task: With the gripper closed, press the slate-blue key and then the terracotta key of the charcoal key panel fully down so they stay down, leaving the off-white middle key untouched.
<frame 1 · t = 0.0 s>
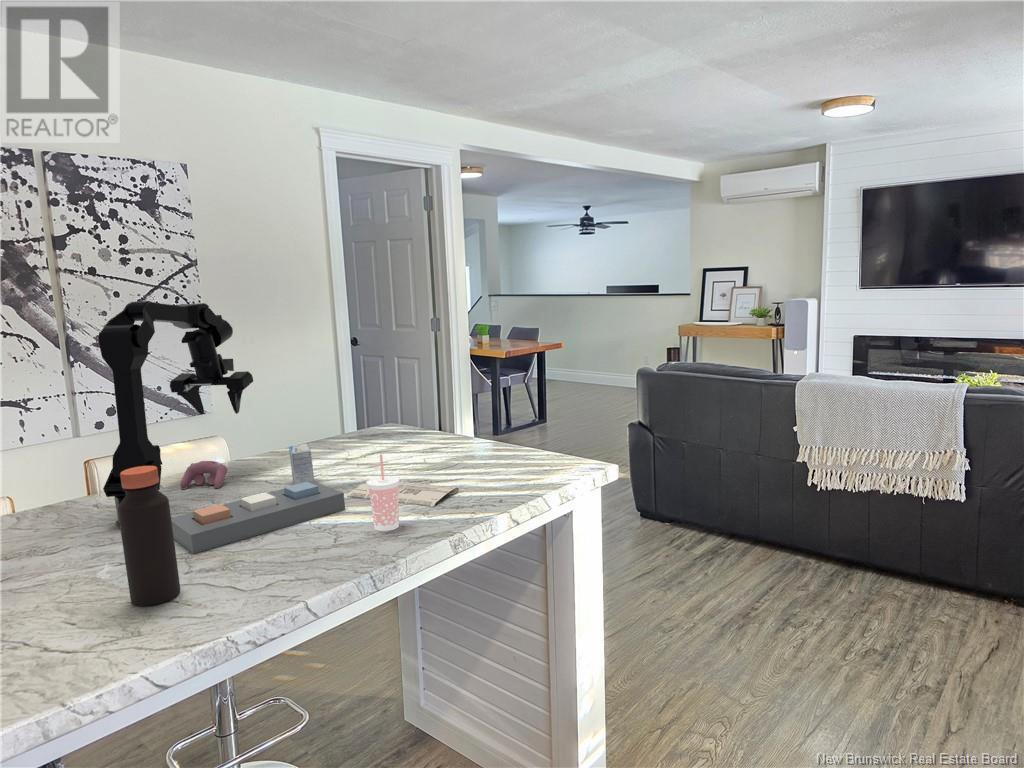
hand: (220, 413, 171), 15 cm above the kitchen island, tool pointing down, fingers open, 9 cm apart
medicine box: (303, 484, 162), on the kitchen island
terracotta key: (212, 517, 130), point 3 cm above the kitchen island, slide at 0.0 cm
bottle: (156, 598, 106), on the kitchen island
video game controller: (205, 487, 164), on the kitchen island
key panel: (260, 522, 137), on the kitchen island
beverage cup: (386, 527, 131), on the kitchen island
newspaper: (403, 496, 151), on the kitchen island
slate blue key: (301, 493, 142), point 3 cm above the kitchen island, slide at 0.0 cm
offwhite key: (258, 505, 136), point 3 cm above the kitchen island, slide at 0.0 cm
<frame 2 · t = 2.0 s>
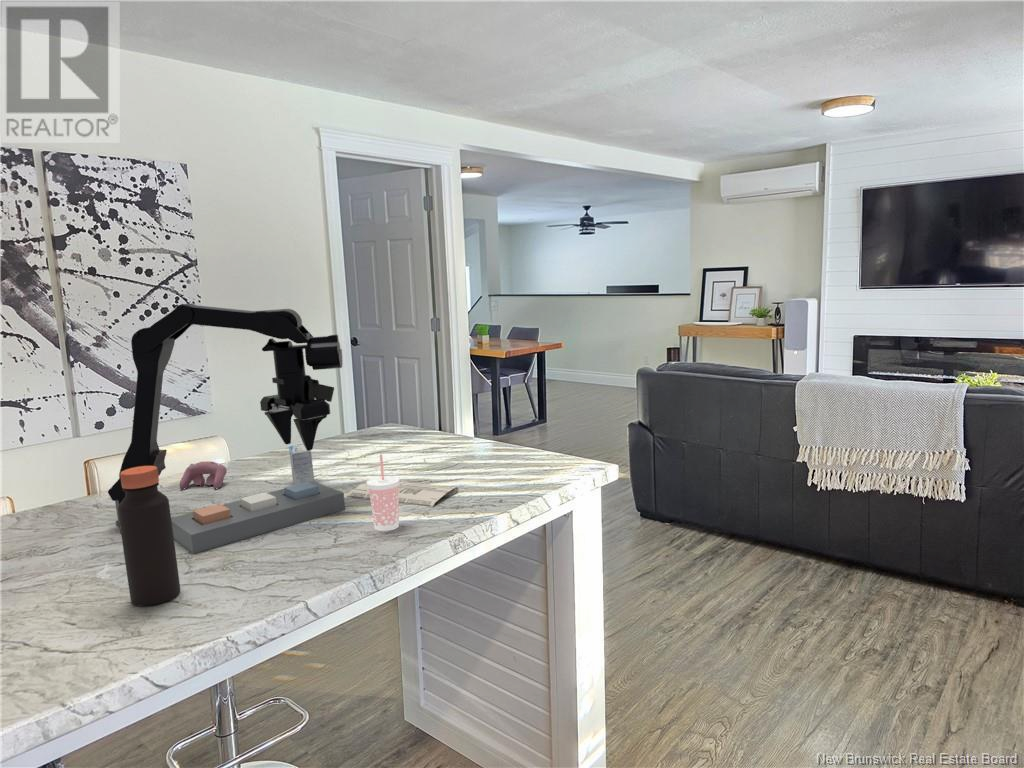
hand: (298, 447, 142), 13 cm above the kitchen island, tool pointing down, fingers open, 9 cm apart
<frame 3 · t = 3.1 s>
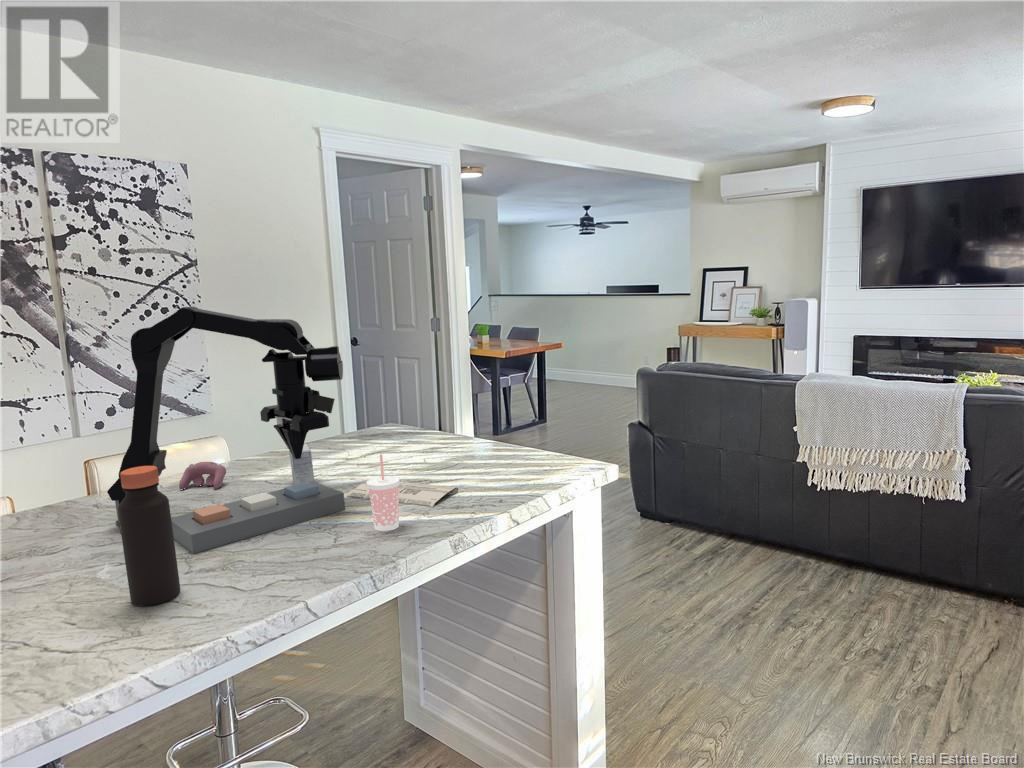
hand: (297, 458, 141), 11 cm above the kitchen island, tool pointing down, fingers closed
nothing on the kitchen island moved.
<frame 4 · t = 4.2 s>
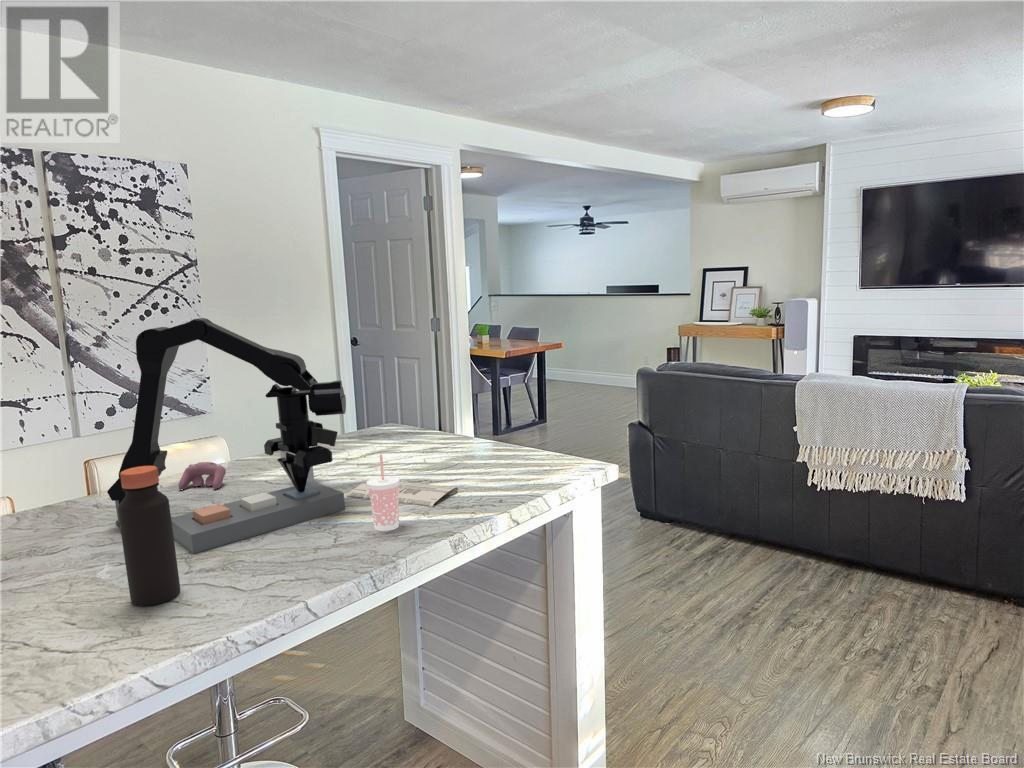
hand: (301, 491, 142), 4 cm above the kitchen island, tool pointing down, fingers closed, pressing on slate blue key
slate blue key: (302, 498, 142), point 2 cm above the kitchen island, slide at 1.0 cm, touching gripper
everything else where it was.
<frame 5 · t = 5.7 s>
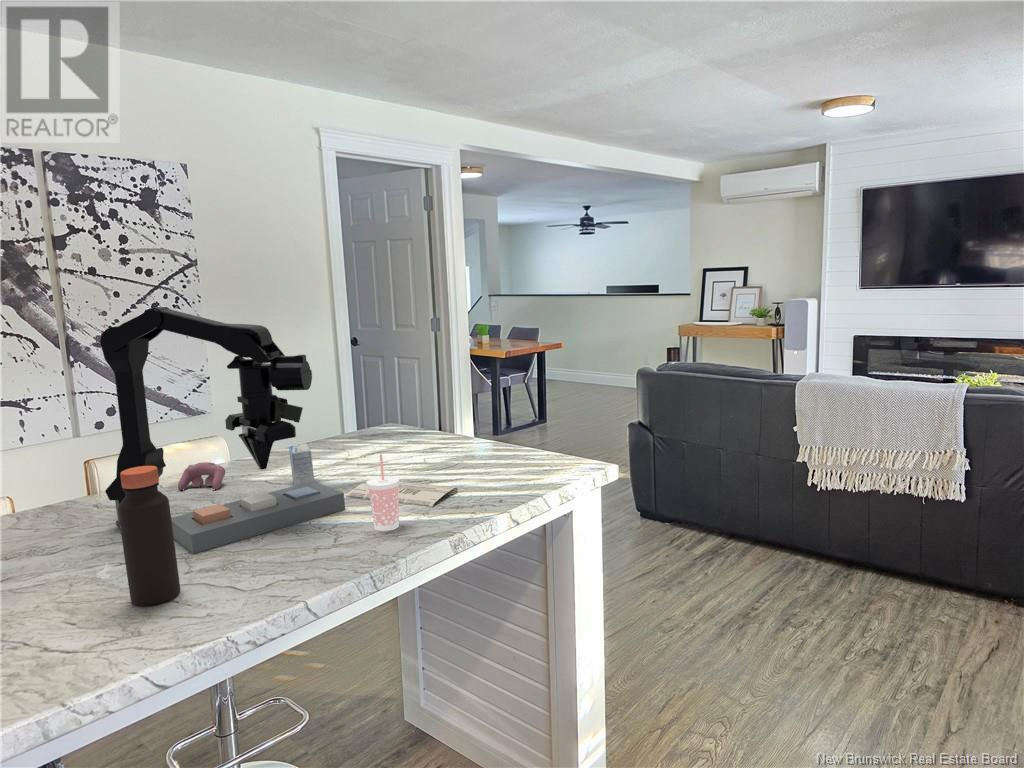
hand: (263, 468, 137), 10 cm above the kitchen island, tool pointing down, fingers closed
slate blue key: (302, 498, 142), point 2 cm above the kitchen island, slide at 1.1 cm
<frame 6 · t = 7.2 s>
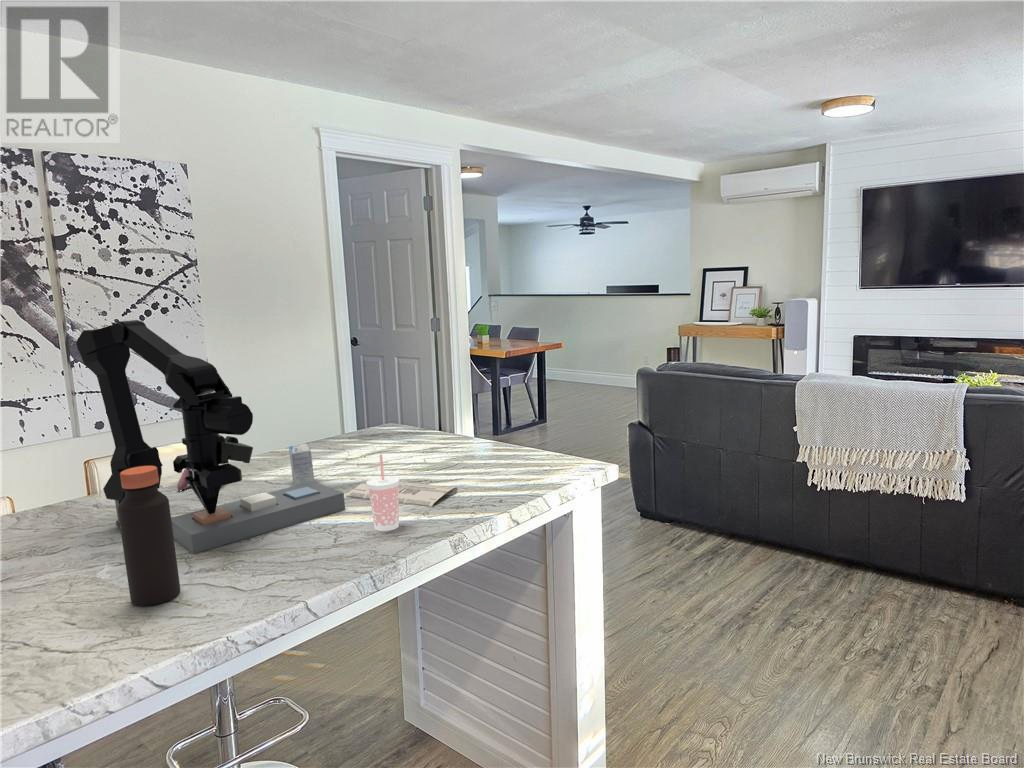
hand: (211, 513, 130), 4 cm above the kitchen island, tool pointing down, fingers closed, pressing on terracotta key
terracotta key: (212, 520, 130), point 3 cm above the kitchen island, slide at 0.6 cm, touching gripper
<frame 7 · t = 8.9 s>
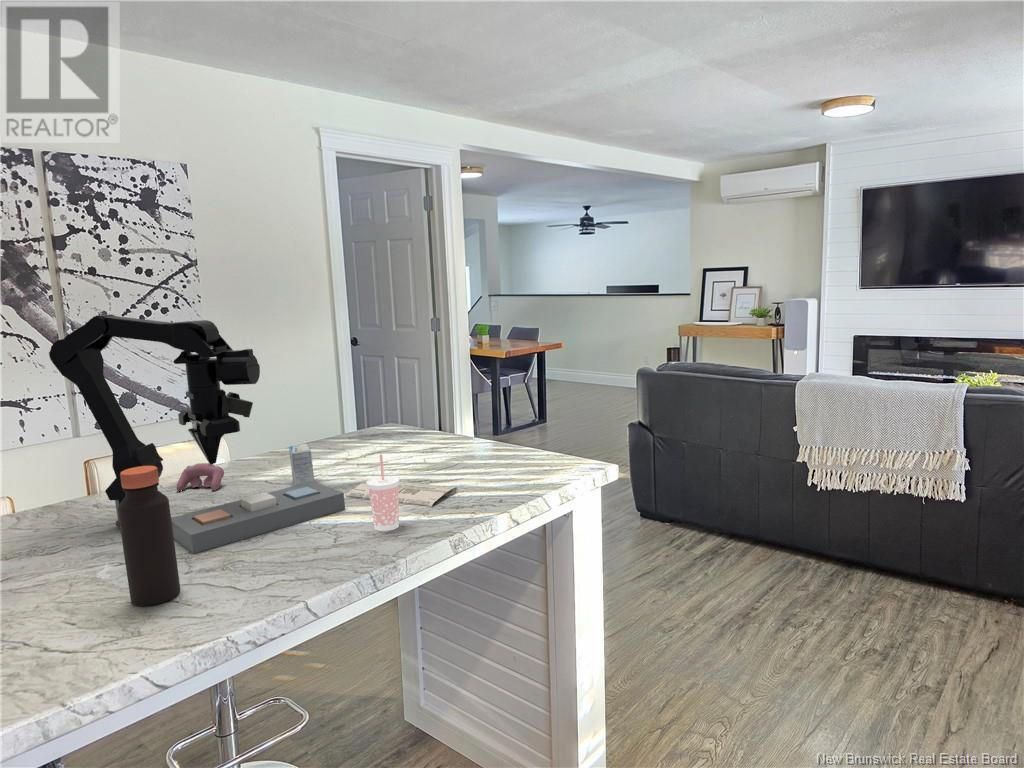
hand: (212, 463, 137), 12 cm above the kitchen island, tool pointing down, fingers closed
terracotta key: (213, 523, 130), point 2 cm above the kitchen island, slide at 1.1 cm
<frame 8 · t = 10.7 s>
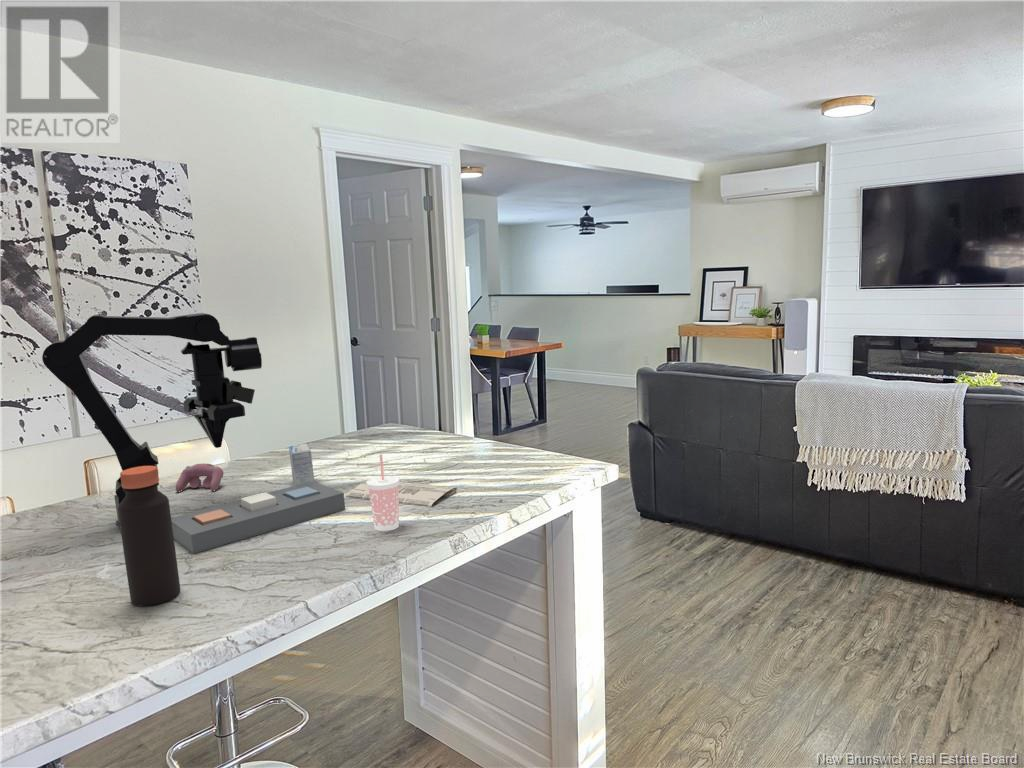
hand: (217, 447, 146), 13 cm above the kitchen island, tool pointing down, fingers closed
at the end: slate blue key slide at 1.1 cm; terracotta key slide at 1.1 cm; offwhite key slide at 0.0 cm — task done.
